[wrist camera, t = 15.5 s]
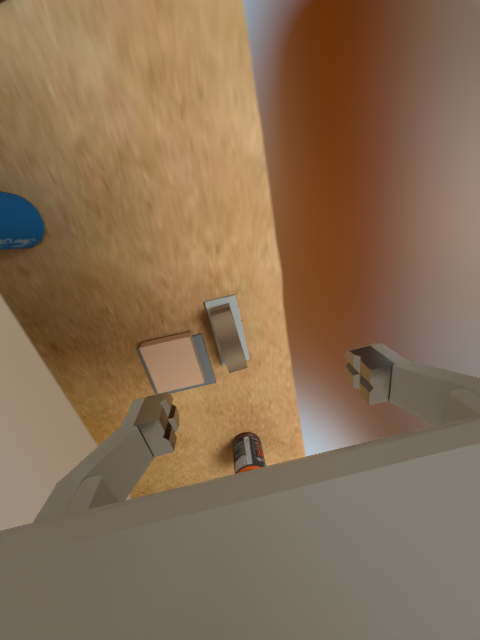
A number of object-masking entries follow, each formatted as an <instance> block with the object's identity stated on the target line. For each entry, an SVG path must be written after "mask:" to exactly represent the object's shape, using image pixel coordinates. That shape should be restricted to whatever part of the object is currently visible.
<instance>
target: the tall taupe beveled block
mask: <svg viewBox="0 0 480 640" xmlns="http://www.w3.org/2000/svg"><path fill="white" fill-rule="evenodd" d="M210 318H211V320H212V323H213V326H214V329H215V332H216V335H217V338H218V341H219V344H220V347H221V350H222V353H223V356H224V359H225V362H226V365H227V368H228V371H229V373H231V372H235V371H238V370H242V369H245V368H247V364H246V360H245V355H244V352H243V348H242V345H241V342H240V338H239V335H238V332H237V328H236V325H235V321H234V318H233V315H232V311H231V308H230V305H229V303H226V304H223V305H219V306H216V307H212V308H211V312H210Z"/></svg>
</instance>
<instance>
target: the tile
mask: <svg viewBox="0 0 480 640" xmlns="http://www.w3.org/2000/svg"><path fill="white" fill-rule="evenodd" d="M139 349H140V351H141V354H142V356H143V359H144V361H145V363H146V366H147V368H148V370H149V373H150V375H151V377H152V380H153V382H154V385H155V387H156V389H157V392H158V394H159V393H163V392H168V391H172V390H176V389H181V388H185V387H189V386H194V385H198V384H203V383H204V381H205V375H204V372H203V368H202V365H201V362H200V359H199V356H198V352H197V349H196V346H195V343H194V340H193V337H192V333H191V332H186V333H182V334H178V335H173V336H169V337H164V338H160V339H155V340H151V341H146V342H143V343H142V345H141V346H140V347H139Z"/></svg>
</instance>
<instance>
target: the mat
mask: <svg viewBox="0 0 480 640" xmlns="http://www.w3.org/2000/svg"><path fill="white" fill-rule="evenodd" d="M192 337H193V340H194V343H195V346H196V349H197V352H198V356H199V359H200V362H201V365H202V368H203V372H204V375H205V381H204V383H203V384H198V385H194V386H189V387H185V388H181V389H176V390H172V391H168V392H169V393H174V392H179V391H183V390H187V389H191V388H196V387H200V386H204V385H208V384H213V383H216V380H215V377H214V373H213V370H212V367H211V363H210V360H209V357H208V354H207V350H206V347H205V344H204V340H203V337H202V334H197V335H193V336H192ZM137 352H138V354H139V356H140V358H141V361H142V363H143V365H144V368H145V370H146V372H147V374H148V377H149V379H150V381H151V384H152V386H153V388H154V391H155V393H156V395H158V392H157V389H156V387H155V385H154V382H153V380H152V377H151V375H150V373H149V370H148V368H147V366H146V363H145V361H144V359H143V356H142V354H141V351H140V349H139V348H137ZM163 393H167V392H163ZM163 393H159V394H163Z"/></svg>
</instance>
